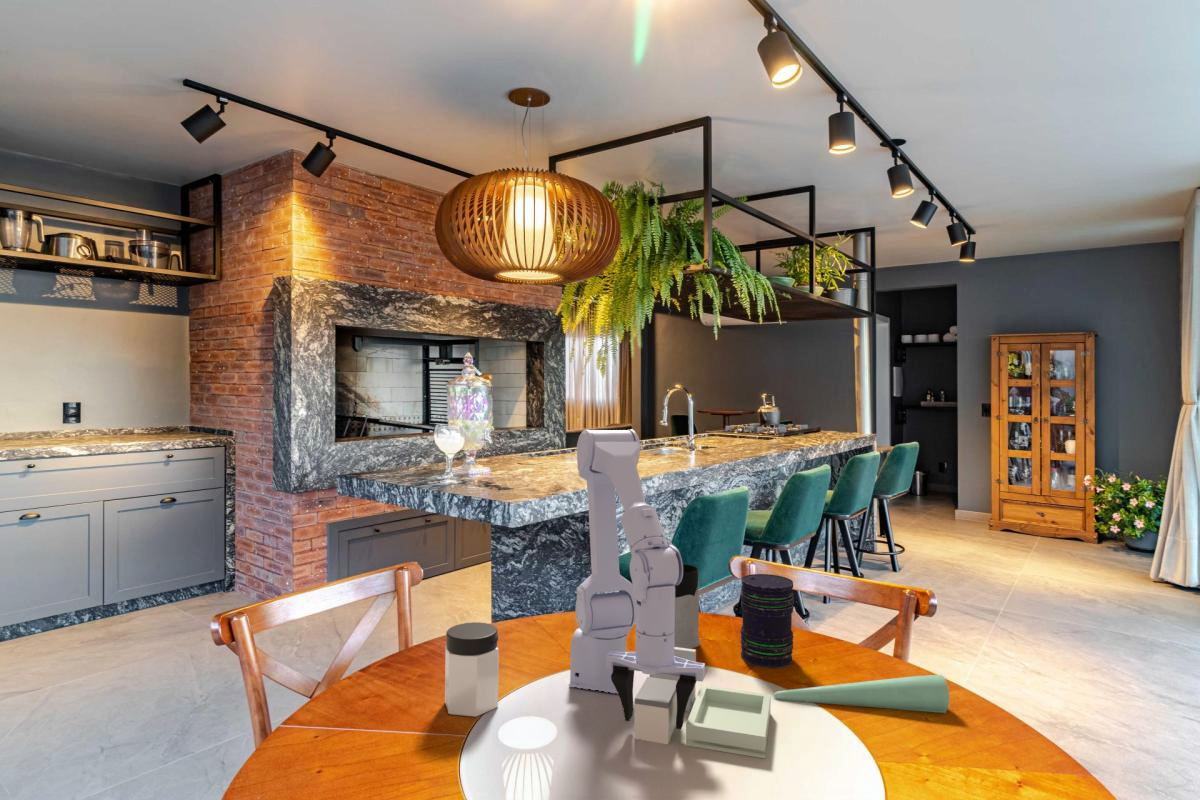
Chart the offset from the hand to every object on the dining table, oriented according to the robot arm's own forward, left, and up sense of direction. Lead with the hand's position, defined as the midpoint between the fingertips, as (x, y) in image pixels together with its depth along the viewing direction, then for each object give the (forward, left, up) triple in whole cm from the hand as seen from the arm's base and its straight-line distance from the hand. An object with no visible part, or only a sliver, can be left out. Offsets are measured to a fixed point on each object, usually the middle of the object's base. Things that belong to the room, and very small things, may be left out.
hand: (654, 721), depth 99 cm
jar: (-30, 0, -2) cm, 30 cm away
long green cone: (+29, +21, -2) cm, 36 cm away
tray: (+11, +6, -2) cm, 12 cm away
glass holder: (-6, +38, -2) cm, 39 cm away
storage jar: (+14, +36, -2) cm, 39 cm away
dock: (0, +12, -2) cm, 12 cm away
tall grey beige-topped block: (0, +2, -2) cm, 3 cm away
